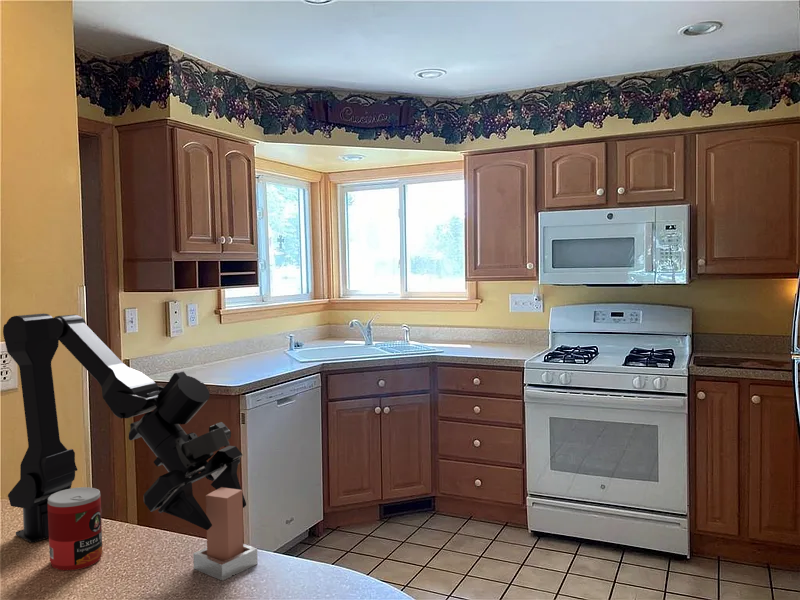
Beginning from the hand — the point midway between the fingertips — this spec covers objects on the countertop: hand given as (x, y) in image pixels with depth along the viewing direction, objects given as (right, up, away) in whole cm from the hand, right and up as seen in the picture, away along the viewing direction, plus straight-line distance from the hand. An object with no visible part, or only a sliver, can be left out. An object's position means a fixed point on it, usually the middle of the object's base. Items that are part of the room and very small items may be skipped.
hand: (227, 517), depth 104 cm
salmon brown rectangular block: (0, -8, +1) cm, 8 cm away
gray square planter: (0, -8, +1) cm, 8 cm away
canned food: (-26, -8, +3) cm, 27 cm away
